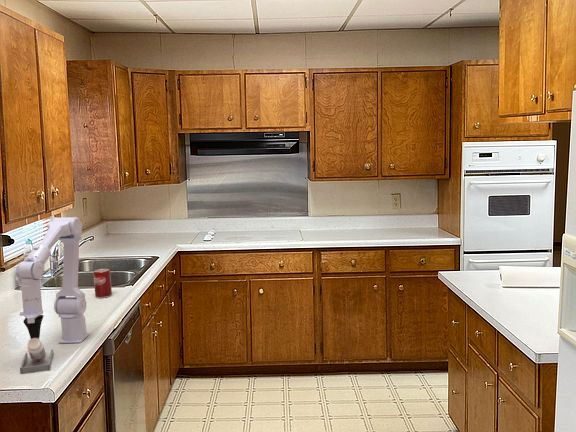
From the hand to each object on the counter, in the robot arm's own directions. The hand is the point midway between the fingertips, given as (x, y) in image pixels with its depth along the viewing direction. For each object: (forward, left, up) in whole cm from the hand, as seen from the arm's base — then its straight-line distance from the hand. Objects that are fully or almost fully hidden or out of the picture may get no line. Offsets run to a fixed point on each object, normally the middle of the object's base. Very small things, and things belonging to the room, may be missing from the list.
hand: (35, 339), depth 212 cm
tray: (+2, +1, -8) cm, 8 cm away
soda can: (-83, -4, -8) cm, 83 cm away
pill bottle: (-2, 0, -6) cm, 6 cm away
